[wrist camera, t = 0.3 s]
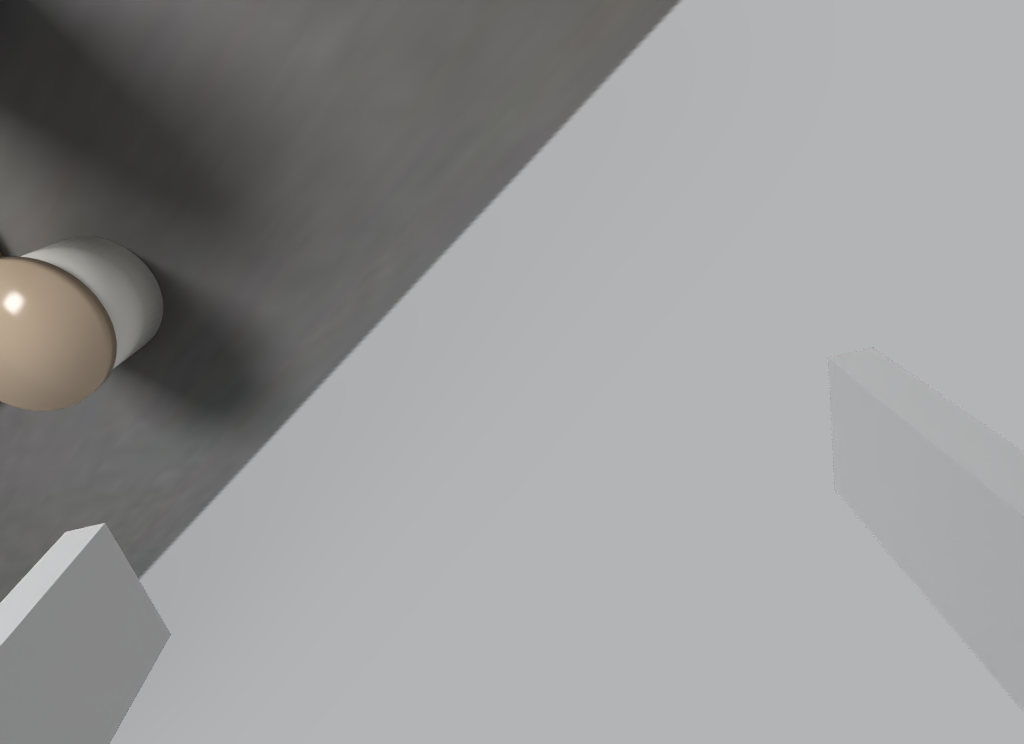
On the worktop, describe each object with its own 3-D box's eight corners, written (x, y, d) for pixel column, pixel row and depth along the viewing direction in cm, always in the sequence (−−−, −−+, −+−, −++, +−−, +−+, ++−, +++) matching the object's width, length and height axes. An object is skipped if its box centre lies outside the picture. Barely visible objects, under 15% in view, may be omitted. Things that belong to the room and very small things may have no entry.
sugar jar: (4, 248, 37) (-97, 282, 31) (133, 216, 37) (59, 244, 30) (70, 370, 40) (-10, 425, 34) (190, 342, 40) (133, 392, 33)
